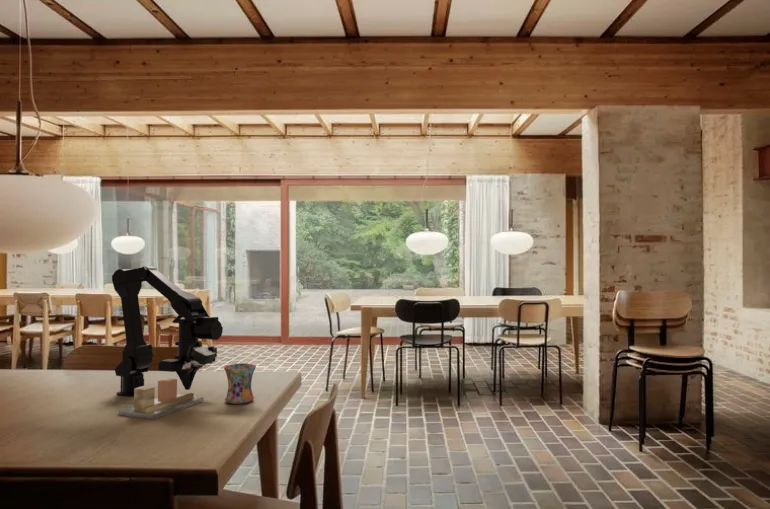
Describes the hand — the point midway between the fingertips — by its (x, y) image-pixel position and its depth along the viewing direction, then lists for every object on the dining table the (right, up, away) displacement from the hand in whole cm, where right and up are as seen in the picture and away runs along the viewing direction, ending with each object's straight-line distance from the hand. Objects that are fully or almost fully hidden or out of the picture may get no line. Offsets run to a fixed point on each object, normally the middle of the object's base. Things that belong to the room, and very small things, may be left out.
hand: (187, 389), depth 161 cm
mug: (+16, -3, -1) cm, 16 cm away
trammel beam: (-3, -2, -10) cm, 10 cm away
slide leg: (-3, -1, -8) cm, 8 cm away
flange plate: (-4, -3, -9) cm, 10 cm away
